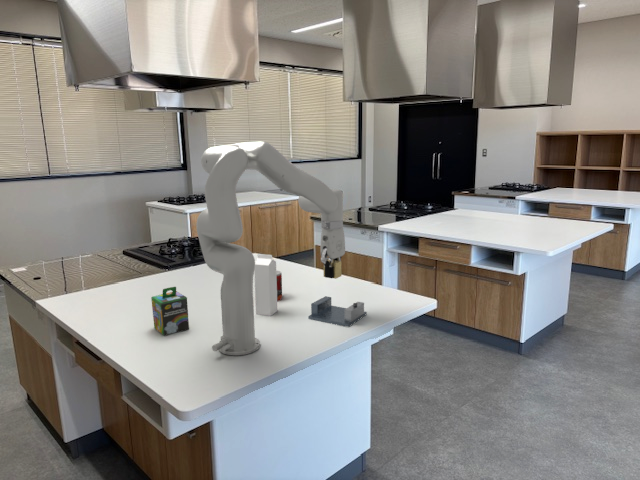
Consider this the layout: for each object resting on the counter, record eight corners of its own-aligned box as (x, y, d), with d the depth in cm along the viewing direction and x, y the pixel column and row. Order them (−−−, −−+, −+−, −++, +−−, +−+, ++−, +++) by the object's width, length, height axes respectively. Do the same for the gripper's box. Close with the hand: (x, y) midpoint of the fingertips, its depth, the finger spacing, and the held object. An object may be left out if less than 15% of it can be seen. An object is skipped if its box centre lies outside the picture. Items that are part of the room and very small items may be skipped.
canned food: (279, 302, 184) (278, 275, 182) (259, 301, 185) (258, 274, 183) (284, 296, 191) (283, 270, 189) (265, 295, 193) (265, 269, 191)
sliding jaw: (351, 322, 159) (351, 308, 158) (344, 320, 160) (344, 306, 159) (364, 313, 167) (364, 300, 166) (357, 312, 168) (357, 298, 167)
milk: (263, 309, 176) (261, 252, 172) (277, 310, 174) (276, 253, 170) (255, 314, 171) (253, 255, 167) (270, 316, 169) (268, 256, 165)
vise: (348, 327, 157) (348, 312, 156) (308, 318, 165) (308, 305, 165) (366, 314, 169) (366, 301, 168) (328, 307, 177) (328, 294, 176)
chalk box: (179, 322, 164) (176, 281, 161) (190, 329, 157) (187, 287, 154) (153, 328, 158) (149, 286, 155) (163, 336, 151) (159, 292, 148)
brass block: (335, 278, 162) (335, 263, 161) (323, 276, 165) (323, 261, 164) (341, 276, 166) (341, 261, 165) (329, 274, 168) (329, 259, 167)
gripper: (329, 229, 153) (329, 283, 156) (352, 222, 167) (352, 272, 170) (309, 227, 157) (310, 280, 160) (334, 221, 171) (335, 269, 174)
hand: (332, 275), depth 165 cm, fingers closed on brass block, 4 cm apart
